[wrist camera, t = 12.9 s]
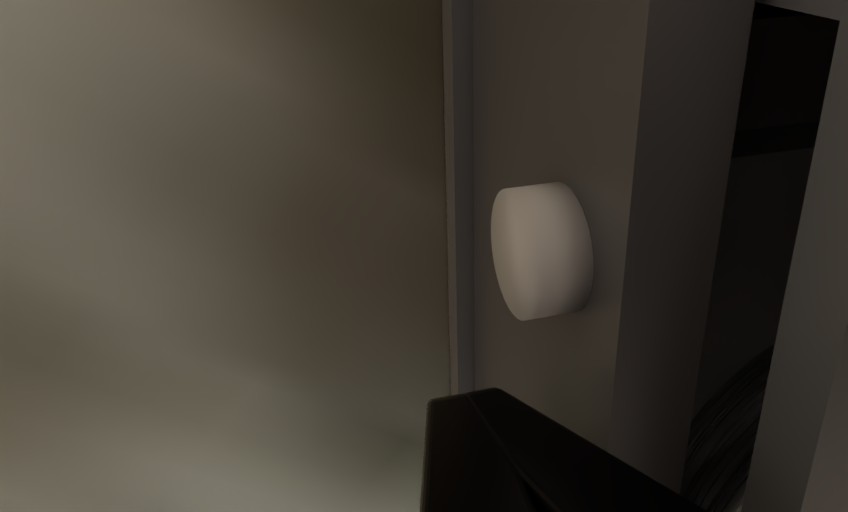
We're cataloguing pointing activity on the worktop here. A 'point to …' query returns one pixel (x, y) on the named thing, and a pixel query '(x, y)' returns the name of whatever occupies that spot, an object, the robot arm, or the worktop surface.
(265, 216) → the worktop surface
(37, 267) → the worktop surface
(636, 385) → the tray
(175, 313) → the worktop surface
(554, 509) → the robot arm
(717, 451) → the disc
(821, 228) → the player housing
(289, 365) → the worktop surface
